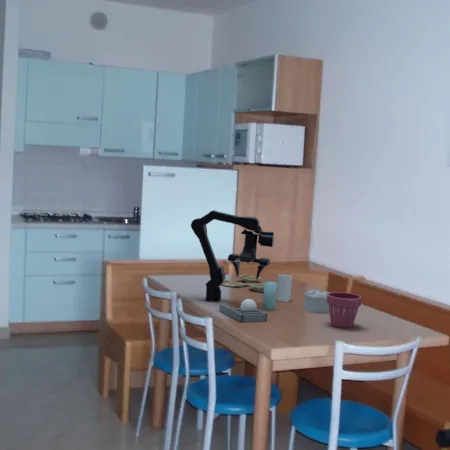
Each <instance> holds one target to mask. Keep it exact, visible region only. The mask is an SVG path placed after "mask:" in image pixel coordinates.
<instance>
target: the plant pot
mask: <svg viewBox="0 0 450 450" xmlns="http://www.w3.org/2000/svg"><path fill="white" fill-rule="evenodd" d="M327 303H328V304H329V313H328V314H329V318H330V325H332V326H333V327H336V326H337V328H343V327H349V328H352V326H354V324H355V320H356V318H357V315H358V314H357V313H358V310H359V308H360V307H361V306H362V296H361V295H359V294H357V293H351V292H341V291H340V292H339V291H335V292H332V291H331V292H327Z"/></svg>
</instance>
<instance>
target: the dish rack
mask: <svg viewBox="0 0 450 450" xmlns="http://www.w3.org/2000/svg"><path fill="white" fill-rule="evenodd" d="M219 312H221V313H222V314H225V316H228V317H230V318H232V319H234V320H236V321H237V322H240V323H257V322H267V321H268V313H266V312H263V311H262V310H260V309H258V308H256V310H248V311H241V309H240V308H231V307H230V306H229V307H228V306H227V305H225V304H223V303H219Z"/></svg>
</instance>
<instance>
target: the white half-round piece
mask: <svg viewBox="0 0 450 450" xmlns="http://www.w3.org/2000/svg"><path fill="white" fill-rule="evenodd" d="M257 307H258V306H257V303H256V301H255V300H253V299H251V298H246V299H244V300H243V301H242V302H241V304H240V308H239V309H241V311H248V310H256V309H258V308H257Z"/></svg>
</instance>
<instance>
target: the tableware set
mask: <svg viewBox="0 0 450 450" xmlns="http://www.w3.org/2000/svg"><path fill="white" fill-rule="evenodd" d="M256 276H257V275H256ZM256 276H254V275H250V273H245V274H241V275H240V274H239V276H238V277H237V278H240V279H241V280H242V281H243V282H240V281H231V280H230V279H225V280H224V282H223V283H222V284H220V286H224V287H228V286H229V287H228V288H241V287H242V288H243V287H245V286H249V287H251V288H252V289H253V291H254V292H257V293H264V282H262V283H258V282H259V281H261V280H262V277H260V276H259V278H258V280H256ZM225 283H232V285H227V284H225ZM276 283H277V289H278V282H276ZM277 289H276V290H277Z"/></svg>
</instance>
